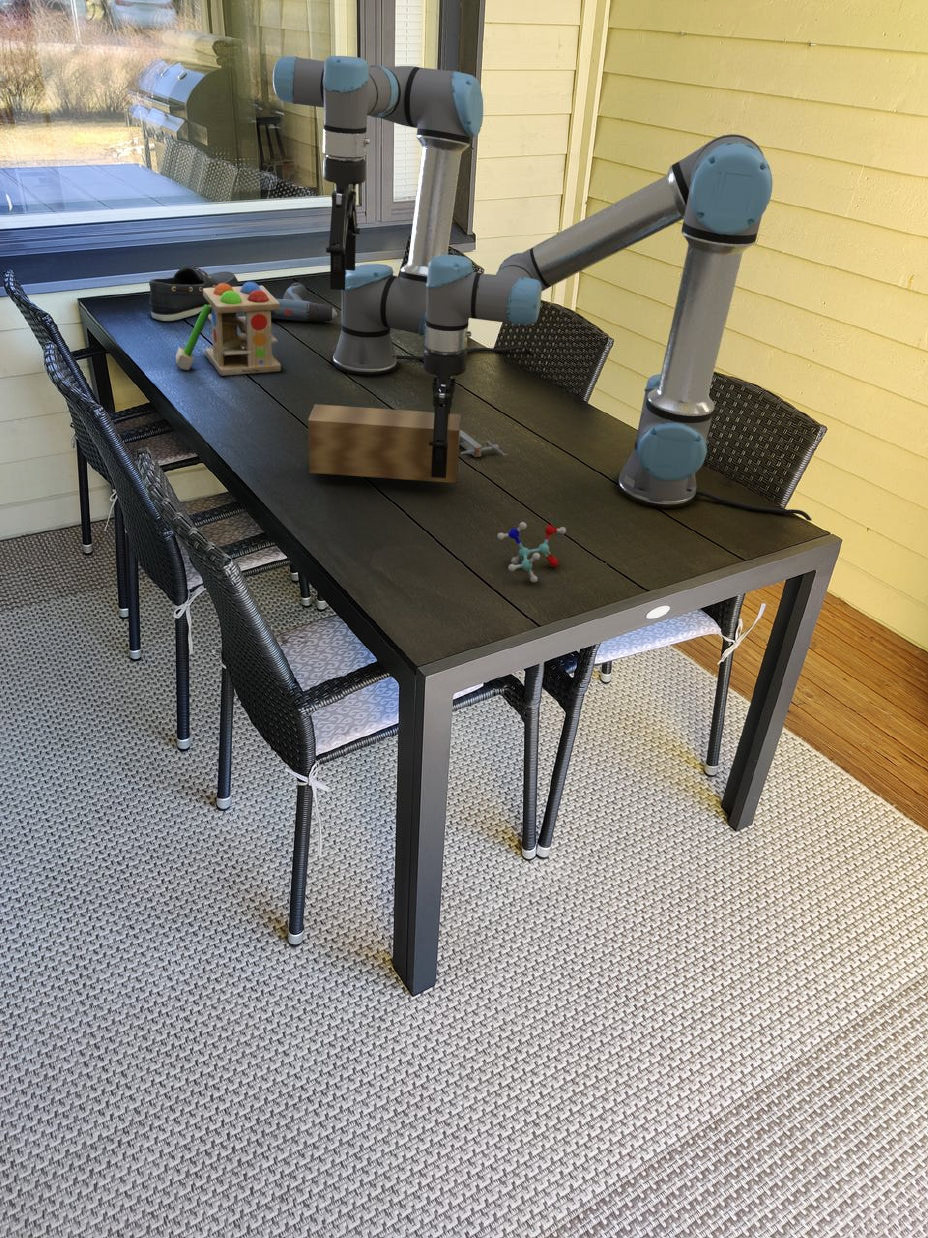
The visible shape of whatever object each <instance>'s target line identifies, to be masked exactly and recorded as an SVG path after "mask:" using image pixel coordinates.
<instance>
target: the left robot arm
mask: <svg viewBox="0 0 928 1238" xmlns="http://www.w3.org/2000/svg"><path fill="white" fill-rule="evenodd" d="M272 86H273V90H274V93H275V95H276V97H277V98H278V99H279V100H280V101H282V102H283V103H284V102H285V103H290V104H292V105H301V106H308V107H314V108H315V107H319V108H323V128H322V153H323V154H324V155H325V156H324V158H323V161H322V163H323V165H322V166H323V169H322V170H323V171H322V173H323V174H322V175H323V179H324V180H325V181H327V182H329V183H334V184H335V189H334V190H333V192H331V212H330V213H331V215H330V226H329V227H330V229H329V240H328V241H329V243H328V247H325V252H326V253H329V254H330V257H329V258H330V259H329V260H330V262H329V264H330V265H329V268H330V270H329V271H330V272H329V289H330V290H336V291H341V313H340V314H341V316H340V317H341V319H340V321H341V324H340V325H341V326H340V329H341V330H340V336H339V338H338V341H337V344H334V345H333V347H332V352H333V361H332V362H333V363H332V364H333V366H334V367H335V368H337V369H338V370H339V371H342V372H344V373H347V374H352V375H356V376H380V375H381V376H382V375H386V374H389V373H391V372H393V371H395V369H396V368H397V361H398V360H407V361H409V360H412V361H424V355H423V356H421V355H399V354H396V352H395V347H394V343H393V341H392V337H391V336H392V335H391V329H394V330H397V331H404V332H409V333H413V334H418V335H419V336H425V322H426V284H427V276H428V266H429V262H430V260H432V258H434V257H436V256H439V255H448V253H449V245H450V237H451V231H452V223H453V218H454V217H453V216H454V208H455V202H456V194H457V187H458V181H459V173H460V167H461V158H462V154H463V153H464V151H466V150H467V149H468V148H469V147H470V143H471V139H472V138H475V137H478V136H479V134H480V133H481V128H482V126H483V122H484V97H483V92H482V88H481V85H480V83H479V81H478V79H477V78H476V77H475V76H474V75H472V74H468V73H464V72H461V71H456V70H446V69H445V70H444V69H437V68H428V67H419V66H414V65H396V66H395V65H394V66H381V65H373V64H372V65H370V66H369V65H368V62H367V60H366V59H364V58H362V57H358V56H351V55H350V56H349V55H330V56H328V57H326V59H325V60H318V59H313V58H305V57H299V56H288V55H287V56H285V55H284V56H280V57H279V58H278V59H277V60H276V62H275V64H274V67H273V71H272ZM368 116H370V117H372V118H377V119H381V120H384V121H388V122H391V123H394V124H396V125H399V126H400V125H401V126H404V127H409V128H413V129H414V128H415V129H417V130H416V139H417V141H418V142H419V143H420V145H421V154H420V162H419V170H418V178H417V185H416V186H417V188H416V195H415V202H414V210H413V219H412V228H411V235H410V241H409V242H410V244H409V250H408V251H409V252H408V259H407V262H406V263H405V264H404V265H403V266H402V267H401V268H400V269H399V276H398V275H394V273H395V272H394V269H393V267H392V266H390V265H388V264H383V263H382V264H381V263H368V264H367V263H366V264H358V265H356V252H357V251H356V247H357V246H356V243H357V235H360V233H361V228H360V227H358V226H359V225H358V213H357V212H358V210H357V185H361V184H363V183H364V182H366V179H367V178H366V176H367V175H366V174H367V173H366V172H367V161H366V160H365V159H364V157H366V155H367V145H370V143H371V140H370V138H368V137H366V136H367V132H368V131H367V130H368ZM522 346H523V345H515V346H510V347H509V346H508V347H503V348H502V347H501V348H498V347H497V348H496V347H495V348H494V347H472V348H471V347H470V348H466V349H465V351H466V352H467V354H471V353H475V352H479V353H480V352H484V353H485V352H488V353H507V352H513V351H518V350H521V351H523V350H522V349H523V347H522ZM524 351H525V352H527V353H528V354H529V355H534V354H535V353H534V351H533V352H531V351H530V350H524Z"/></svg>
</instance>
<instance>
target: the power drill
mask: <svg viewBox="0 0 928 1238" xmlns="http://www.w3.org/2000/svg"><path fill="white" fill-rule="evenodd" d="M307 295H308V290H307V287H306V285H304V284H303V283H301V282H293V283H292V284H291V285H290V286H289V287H288V288H287V289H286V291H285V292H284V294H283V297H282V298H275V299H276V300H277V301H278V302H279V303H280V310H271V319H274V320H275V319H276V320H283V321H294V322H295V321H297V322H332V321H333V320H334V319H336V318H337V317H338V312H337V311H336V308H334V307H333V306H332V305H331V304H324V303H317V302H313V301H307V300H305V299H306V297H307Z"/></svg>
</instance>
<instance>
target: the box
mask: <svg viewBox="0 0 928 1238" xmlns="http://www.w3.org/2000/svg"><path fill="white" fill-rule="evenodd" d="M461 421H462V414H460V413H451V414H449V417H448V432H447V442H448V448H447V466H446V478H435V477H431V471H432V448H433V446H429V442H433V431H434V411H433V412H430V411H418V410H417V411H416V410H402V409H388V408H374V407H360V406H348V405H347V406H346V405H345V406H344V405H330V404H329V405H328V404H317V403H315V404H314V405H313V407H312V410H311V411H310V415H309V417H308V418H307V434H308V436H307V437H308V465H309V466H308V468H309V474H323V475H336V476H338V475H339V476H351V477H352V476H353V477H365V478H366V477H367V478H379V479H380V478H381V479H392V480H406V481H407V480H409V481H422V482H435V483H436V482H439V483H452V484H456V483H457V480H458V470H459V457H460V445H459V440H460V429H461V423H462V422H461Z"/></svg>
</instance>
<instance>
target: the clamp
mask: <svg viewBox="0 0 928 1238" xmlns="http://www.w3.org/2000/svg"><path fill="white" fill-rule="evenodd" d="M485 445H486V447H483V446H482V445H481V444H480V443H479V442H477V441H476V439H473V438H472V437H471V436H470V435H468V434H467V433H465V431H463V430H462V429H461V428H460V440H459V446H460V447H462V449H464V451H459V455H471V456H473V457H474V458H478V457H479V458H480V457H482V455H483V454H482V453H484V452H490V451H491V452H498V453H499V454H500V455H501V456H503V459H508V453H507V452H506V453H504V452H503V451H502V450H501V449H500V445H499V444H493V443H491V441H490V440H487V441H485Z"/></svg>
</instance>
